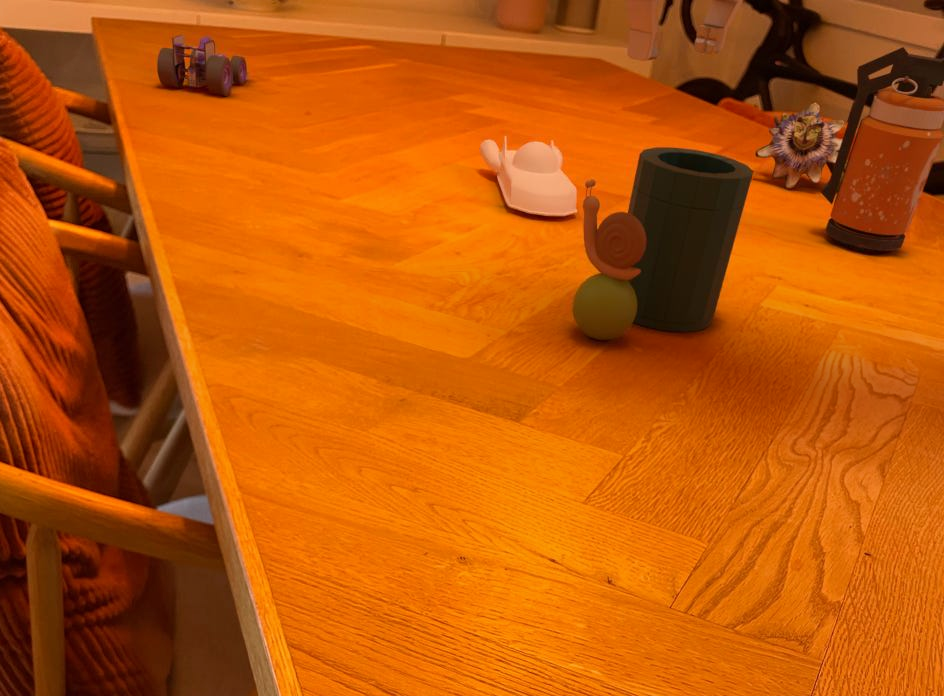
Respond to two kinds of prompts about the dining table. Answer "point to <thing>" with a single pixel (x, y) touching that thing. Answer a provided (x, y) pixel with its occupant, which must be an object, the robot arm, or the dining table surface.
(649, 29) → the robot arm
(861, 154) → the canister
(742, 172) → the jar
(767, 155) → the passion flower
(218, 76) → the toy race car
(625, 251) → the snail figurine
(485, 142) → the white domed toy
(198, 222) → the dining table surface
